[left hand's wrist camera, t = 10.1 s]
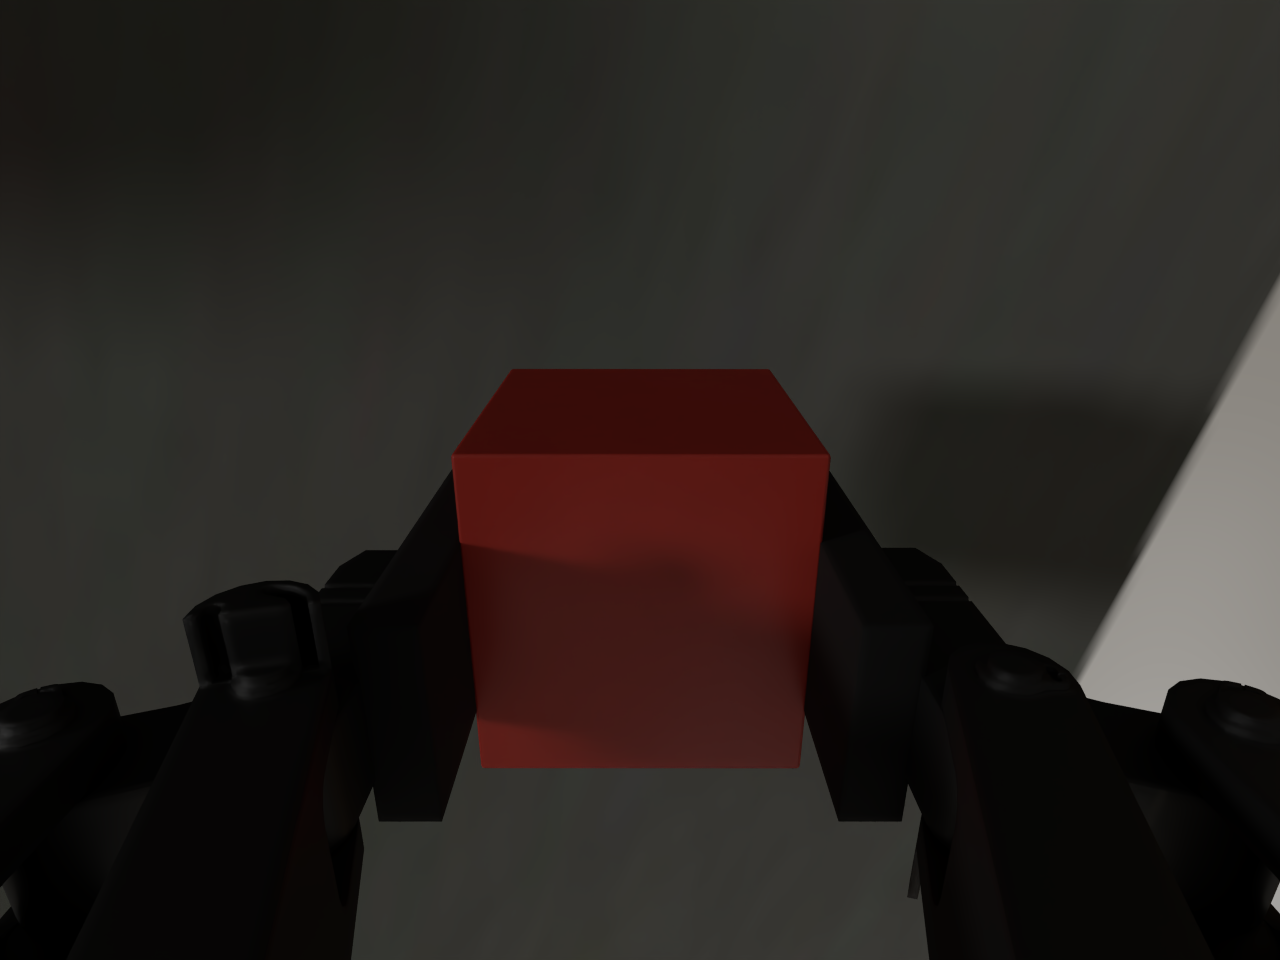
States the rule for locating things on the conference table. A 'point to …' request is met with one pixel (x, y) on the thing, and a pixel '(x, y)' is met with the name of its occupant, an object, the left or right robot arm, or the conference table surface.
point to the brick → (640, 568)
